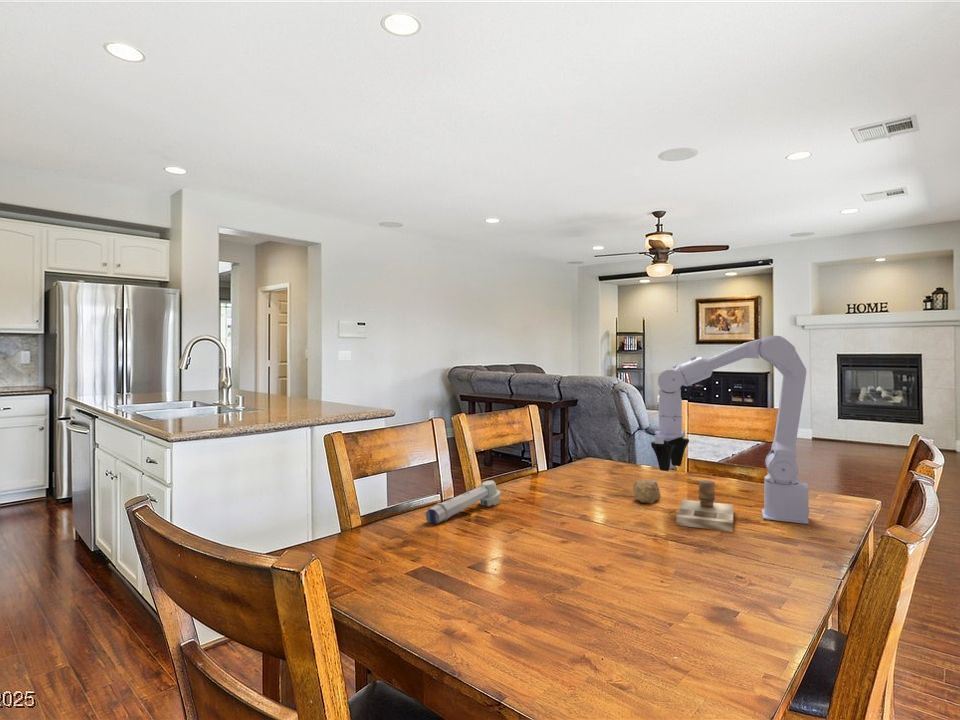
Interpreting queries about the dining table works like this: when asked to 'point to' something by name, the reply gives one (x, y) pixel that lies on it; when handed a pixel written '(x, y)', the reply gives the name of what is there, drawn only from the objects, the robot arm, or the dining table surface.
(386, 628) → the dining table surface
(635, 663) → the dining table surface
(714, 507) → the board
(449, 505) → the grey mallet
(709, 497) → the peg
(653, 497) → the stone tool
